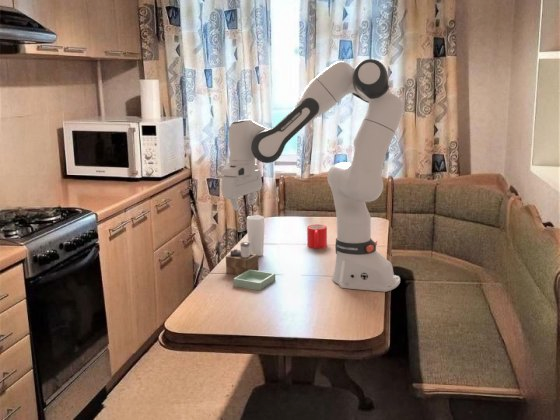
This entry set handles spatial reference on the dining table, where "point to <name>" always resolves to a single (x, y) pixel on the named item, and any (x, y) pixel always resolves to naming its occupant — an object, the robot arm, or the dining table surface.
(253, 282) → the tray
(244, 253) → the pin
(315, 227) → the mug
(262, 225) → the white tall cup
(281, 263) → the dining table surface
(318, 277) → the dining table surface
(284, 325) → the dining table surface
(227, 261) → the tensioner block
